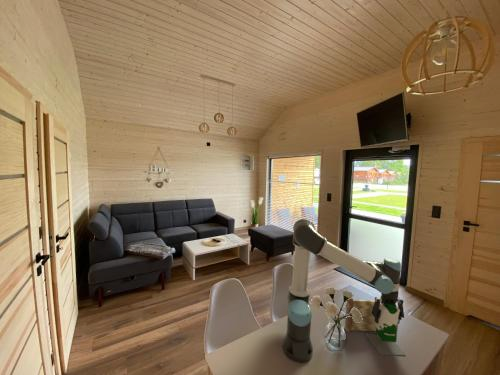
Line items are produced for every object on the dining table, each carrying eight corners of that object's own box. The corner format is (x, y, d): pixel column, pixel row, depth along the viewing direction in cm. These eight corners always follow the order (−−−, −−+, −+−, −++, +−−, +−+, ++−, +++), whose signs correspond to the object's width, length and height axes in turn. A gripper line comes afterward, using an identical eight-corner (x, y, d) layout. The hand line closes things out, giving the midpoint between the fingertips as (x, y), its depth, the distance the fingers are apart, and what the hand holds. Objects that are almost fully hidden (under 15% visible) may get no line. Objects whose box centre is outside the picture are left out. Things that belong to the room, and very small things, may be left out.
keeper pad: (379, 354, 109) (379, 354, 109) (366, 334, 122) (366, 334, 122) (405, 355, 109) (405, 354, 109) (389, 335, 122) (389, 334, 121)
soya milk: (381, 342, 111) (384, 305, 109) (373, 329, 119) (375, 295, 118) (399, 344, 110) (402, 307, 108) (389, 330, 119) (392, 296, 117)
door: (352, 332, 123) (355, 302, 121) (350, 328, 126) (352, 299, 124) (384, 333, 123) (387, 303, 121) (381, 329, 126) (383, 300, 124)
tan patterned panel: (347, 331, 124) (349, 298, 122) (344, 326, 127) (346, 295, 125) (389, 332, 123) (392, 300, 122) (385, 328, 127) (388, 296, 125)
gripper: (373, 291, 108) (370, 333, 111) (415, 293, 108) (411, 334, 110) (365, 283, 116) (362, 322, 118) (405, 285, 116) (401, 324, 118)
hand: (386, 328), depth 114 cm, fingers closed on soya milk, 9 cm apart
